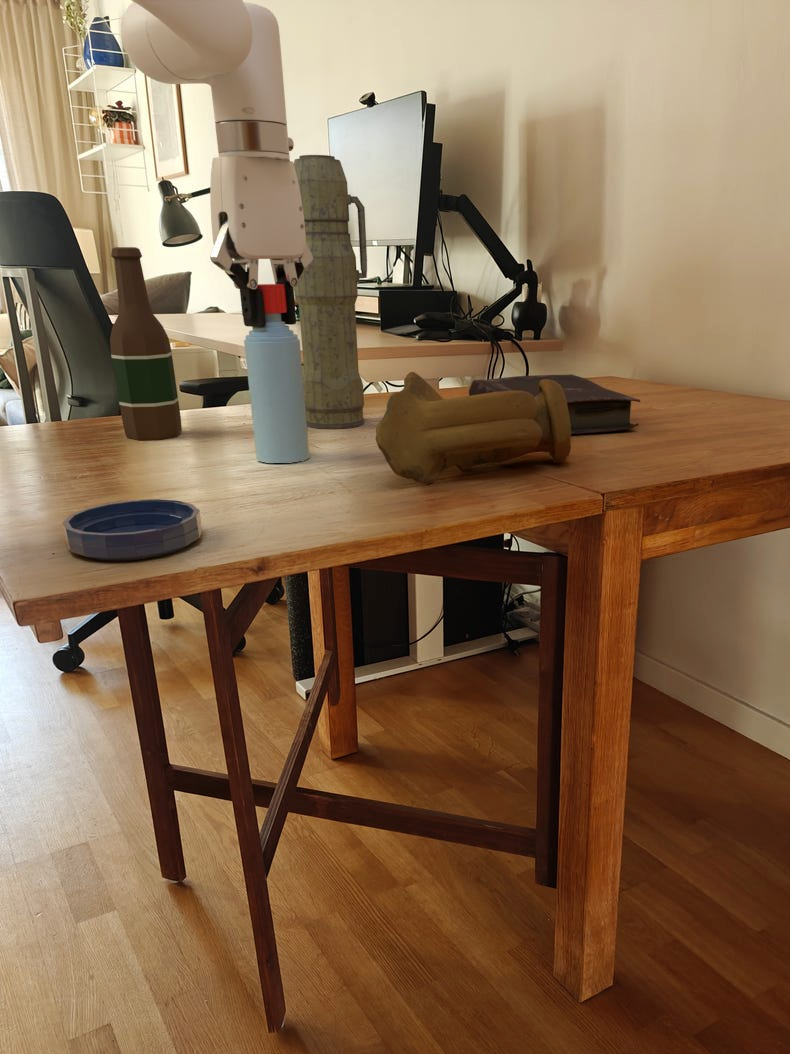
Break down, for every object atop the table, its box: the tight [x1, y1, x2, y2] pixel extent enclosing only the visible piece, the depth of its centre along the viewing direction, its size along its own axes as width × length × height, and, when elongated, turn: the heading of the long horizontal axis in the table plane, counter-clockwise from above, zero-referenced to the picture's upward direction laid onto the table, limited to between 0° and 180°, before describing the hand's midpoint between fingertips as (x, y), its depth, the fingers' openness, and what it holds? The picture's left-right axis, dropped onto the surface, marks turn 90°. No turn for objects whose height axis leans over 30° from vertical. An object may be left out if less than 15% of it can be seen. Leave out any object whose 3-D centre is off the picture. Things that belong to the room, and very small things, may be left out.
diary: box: [468, 373, 641, 435], centre depth 130 cm, size 19×25×5 cm
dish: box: [61, 498, 203, 562], centre depth 75 cm, size 11×11×2 cm
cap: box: [257, 283, 287, 314], centre depth 99 cm, size 4×4×3 cm
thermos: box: [282, 154, 368, 430], centre depth 122 cm, size 9×12×35 cm
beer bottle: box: [109, 246, 183, 441], centre depth 116 cm, size 8×8×24 cm
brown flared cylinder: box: [375, 371, 572, 485], centre depth 99 cm, size 18×13×22 cm
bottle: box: [243, 313, 310, 463], centre depth 103 cm, size 6×6×20 cm
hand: (270, 323), depth 101 cm, fingers closed on cap, 3 cm apart
